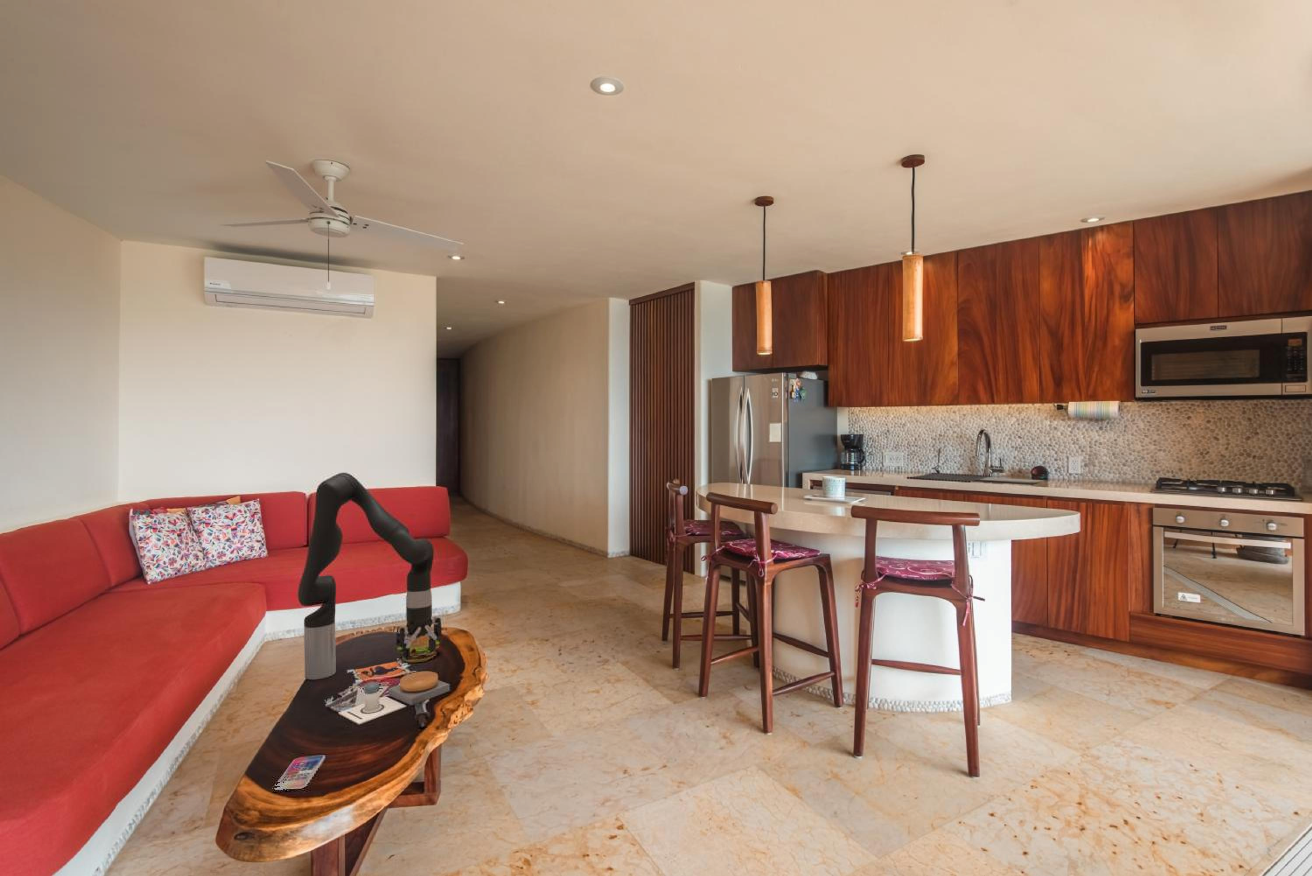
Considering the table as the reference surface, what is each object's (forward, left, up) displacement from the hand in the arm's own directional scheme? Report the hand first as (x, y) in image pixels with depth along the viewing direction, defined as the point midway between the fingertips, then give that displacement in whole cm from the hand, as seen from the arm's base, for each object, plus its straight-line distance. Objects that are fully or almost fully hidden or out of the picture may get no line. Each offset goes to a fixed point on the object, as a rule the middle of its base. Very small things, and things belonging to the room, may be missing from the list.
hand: (419, 655), depth 192 cm
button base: (0, -1, -12) cm, 12 cm away
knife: (+12, -7, -12) cm, 19 cm away
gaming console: (-12, -11, -12) cm, 20 cm away
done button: (0, -1, -9) cm, 9 cm away
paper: (0, -16, -12) cm, 19 cm away
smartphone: (+20, -44, -12) cm, 50 cm away
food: (-30, +17, -12) cm, 36 cm away
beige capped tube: (0, -16, -11) cm, 19 cm away
